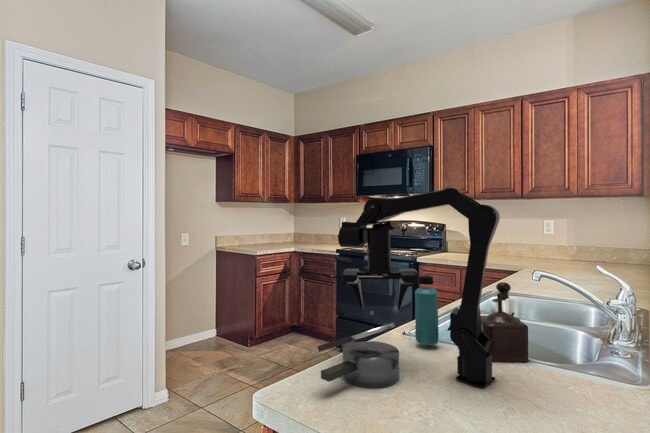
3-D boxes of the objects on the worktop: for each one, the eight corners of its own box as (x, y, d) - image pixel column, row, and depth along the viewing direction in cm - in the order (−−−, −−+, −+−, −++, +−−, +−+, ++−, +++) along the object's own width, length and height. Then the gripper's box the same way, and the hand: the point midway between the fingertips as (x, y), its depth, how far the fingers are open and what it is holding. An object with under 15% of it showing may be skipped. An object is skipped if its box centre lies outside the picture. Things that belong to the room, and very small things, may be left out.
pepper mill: (532, 363, 98) (532, 291, 98) (487, 362, 99) (486, 291, 99) (508, 343, 113) (508, 281, 113) (469, 342, 114) (469, 280, 114)
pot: (410, 376, 90) (410, 350, 90) (348, 407, 76) (347, 376, 76) (364, 360, 101) (364, 337, 100) (301, 385, 86) (301, 358, 86)
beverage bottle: (439, 351, 107) (439, 278, 107) (415, 349, 108) (414, 277, 108) (437, 343, 113) (437, 274, 113) (414, 342, 115) (414, 273, 114)
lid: (406, 323, 91) (404, 318, 92) (343, 344, 77) (341, 338, 77) (367, 335, 100) (365, 331, 100) (303, 356, 85) (302, 351, 86)
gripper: (415, 245, 105) (416, 303, 105) (346, 245, 109) (347, 302, 109) (417, 248, 94) (418, 313, 94) (340, 249, 98) (342, 311, 98)
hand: (380, 309), depth 99 cm, fingers open, 9 cm apart
